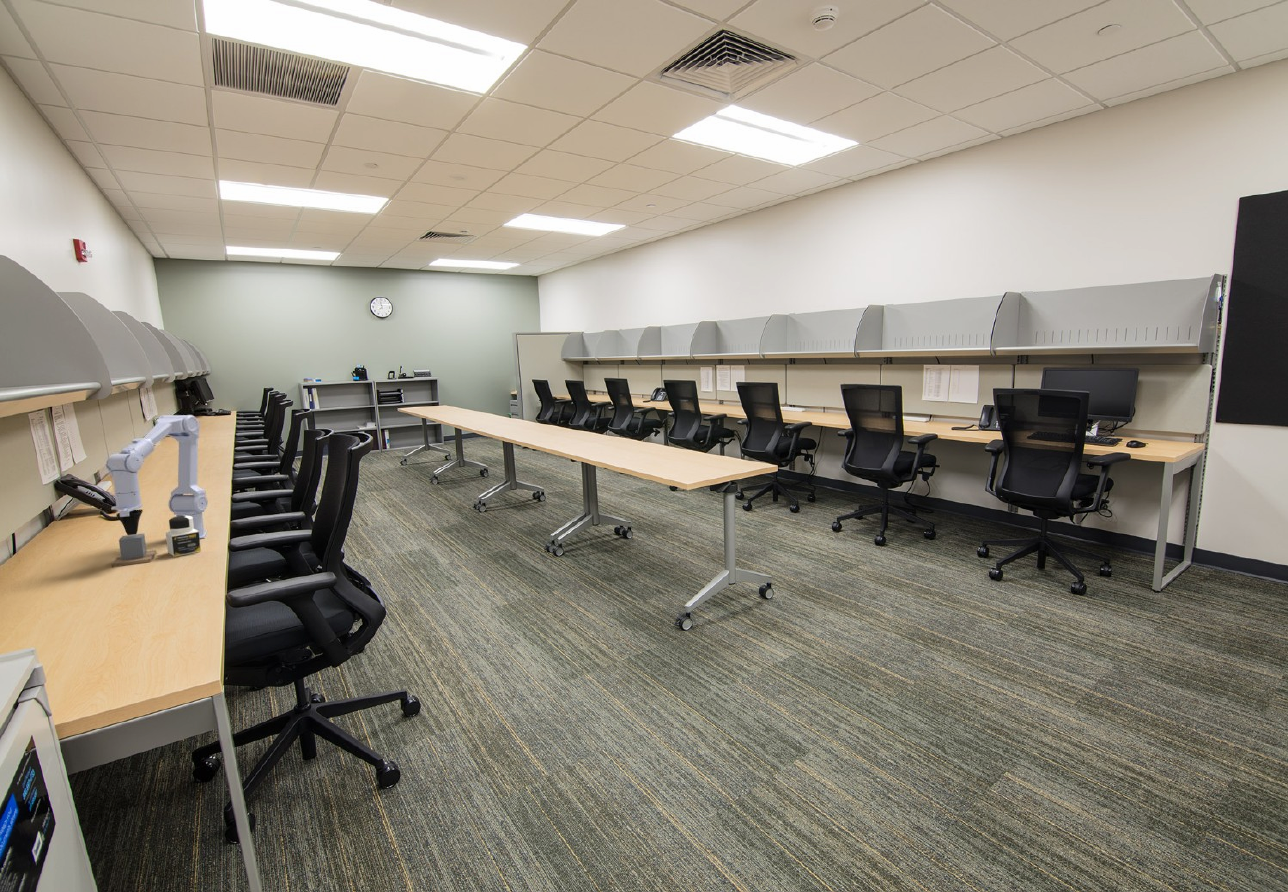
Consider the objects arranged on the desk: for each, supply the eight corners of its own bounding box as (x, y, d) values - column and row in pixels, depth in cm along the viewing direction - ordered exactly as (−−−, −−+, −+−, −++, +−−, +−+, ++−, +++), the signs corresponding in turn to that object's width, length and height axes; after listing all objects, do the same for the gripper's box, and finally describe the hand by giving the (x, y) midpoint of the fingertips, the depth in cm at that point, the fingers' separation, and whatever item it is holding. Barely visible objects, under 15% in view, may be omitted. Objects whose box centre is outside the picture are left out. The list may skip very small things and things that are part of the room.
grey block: (124, 556, 178) (122, 535, 177) (146, 553, 181) (144, 533, 180) (121, 560, 174) (118, 539, 173) (143, 557, 176) (141, 537, 176)
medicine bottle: (173, 557, 180) (170, 520, 179) (167, 552, 184) (163, 517, 183) (201, 551, 186) (197, 516, 184) (194, 547, 190) (190, 513, 189)
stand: (119, 557, 179) (117, 539, 178) (156, 553, 184) (154, 535, 183) (112, 567, 171) (109, 548, 170) (150, 561, 176) (148, 543, 175)
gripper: (115, 488, 178) (120, 530, 180) (103, 497, 166) (109, 542, 168) (144, 486, 182) (149, 527, 184) (135, 495, 170) (140, 538, 172)
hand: (132, 534), depth 176 cm, fingers closed
